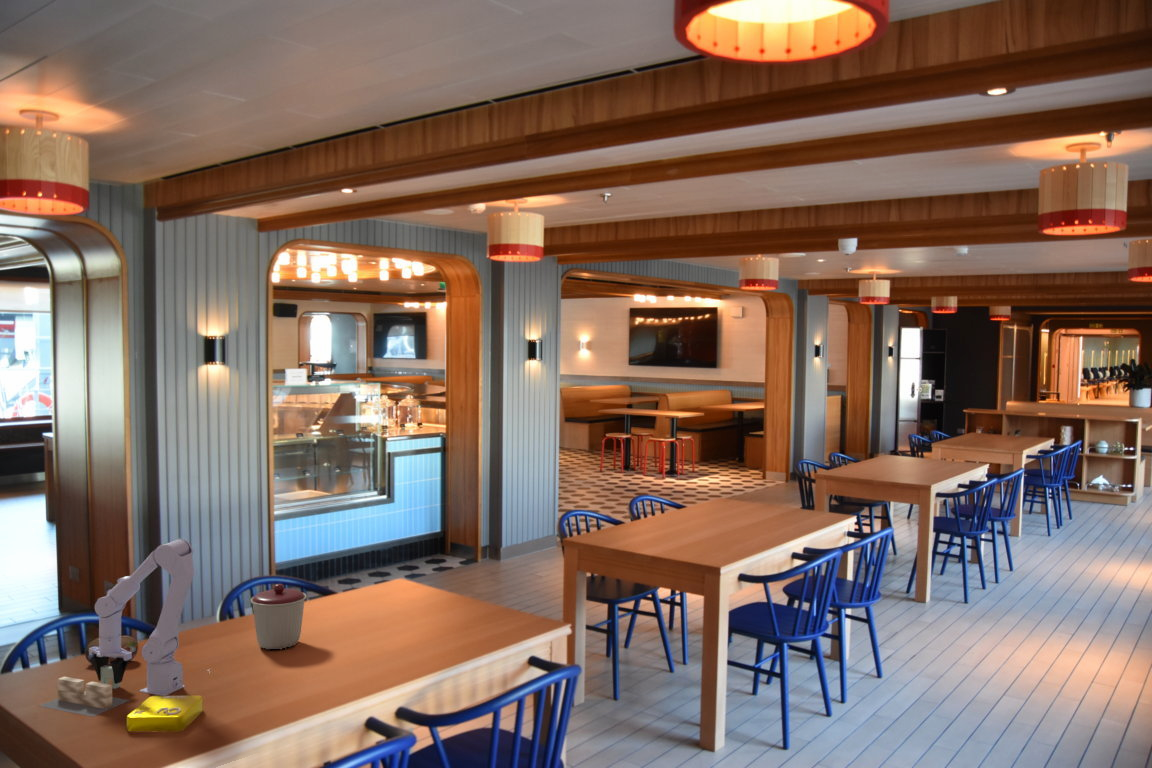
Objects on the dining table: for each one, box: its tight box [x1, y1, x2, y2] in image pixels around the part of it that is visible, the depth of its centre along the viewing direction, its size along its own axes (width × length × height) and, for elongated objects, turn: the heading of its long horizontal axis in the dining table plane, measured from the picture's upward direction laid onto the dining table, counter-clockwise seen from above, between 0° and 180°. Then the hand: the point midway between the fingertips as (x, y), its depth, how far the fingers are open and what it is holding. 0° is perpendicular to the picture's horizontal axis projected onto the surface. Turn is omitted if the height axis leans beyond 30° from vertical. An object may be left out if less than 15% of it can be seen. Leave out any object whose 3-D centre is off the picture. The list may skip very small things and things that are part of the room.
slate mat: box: [39, 696, 130, 717], centre depth 240 cm, size 20×12×1 cm, turn 70°
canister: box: [250, 583, 308, 650], centre depth 291 cm, size 18×18×21 cm
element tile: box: [126, 695, 203, 733], centre depth 230 cm, size 15×15×5 cm
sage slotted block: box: [100, 665, 121, 690], centre depth 252 cm, size 2×6×6 cm, turn 70°
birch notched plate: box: [57, 676, 113, 709], centre depth 240 cm, size 18×2×6 cm, turn 70°
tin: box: [84, 635, 139, 665], centre depth 273 cm, size 15×3×8 cm, turn 105°
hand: (110, 681), depth 252 cm, fingers closed on sage slotted block, 6 cm apart
